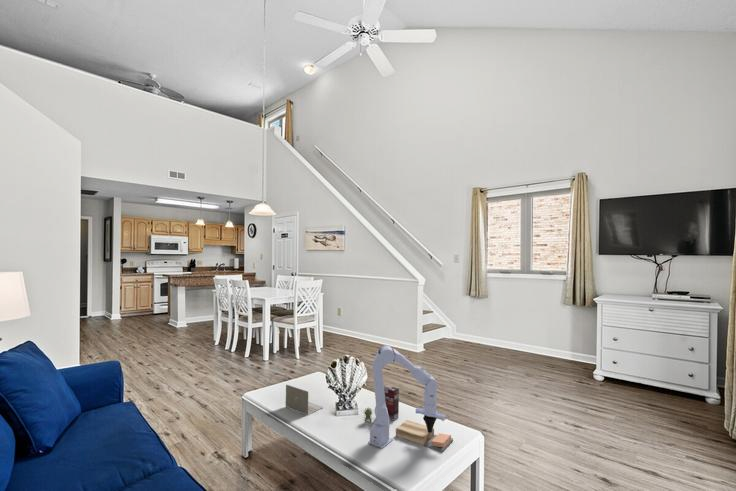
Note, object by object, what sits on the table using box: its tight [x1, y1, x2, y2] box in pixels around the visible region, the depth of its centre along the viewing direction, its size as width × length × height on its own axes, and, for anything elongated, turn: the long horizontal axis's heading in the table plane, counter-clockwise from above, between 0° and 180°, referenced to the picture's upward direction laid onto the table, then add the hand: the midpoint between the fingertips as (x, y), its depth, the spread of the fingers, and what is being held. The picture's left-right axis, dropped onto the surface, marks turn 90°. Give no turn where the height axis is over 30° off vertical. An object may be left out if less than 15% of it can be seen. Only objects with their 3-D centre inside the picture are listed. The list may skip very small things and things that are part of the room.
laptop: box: [285, 384, 324, 416], centre depth 210 cm, size 18×12×13 cm
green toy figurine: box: [362, 407, 374, 424], centre depth 192 cm, size 12×12×8 cm
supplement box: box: [384, 384, 400, 421], centre depth 199 cm, size 9×5×16 cm, turn 50°
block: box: [431, 432, 452, 448], centre depth 171 cm, size 9×6×2 cm, turn 145°
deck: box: [395, 419, 435, 446], centre depth 179 cm, size 11×15×4 cm
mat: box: [423, 434, 454, 453], centre depth 172 cm, size 12×9×1 cm
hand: (430, 431), depth 174 cm, fingers closed
